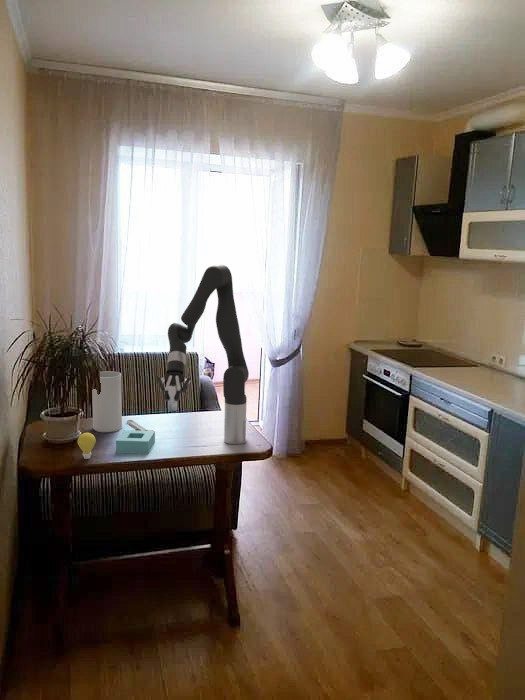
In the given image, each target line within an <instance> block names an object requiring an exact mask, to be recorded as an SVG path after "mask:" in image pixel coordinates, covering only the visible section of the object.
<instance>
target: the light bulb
mask: <svg viewBox="0 0 525 700" xmlns="http://www.w3.org/2000/svg"><path fill="white" fill-rule="evenodd" d="M77 438H78V439H77V445H78V446H79V448H80V450H81V451H82V456H83V459H85V460H87V459H91V456H92V450H93V449H94V447H95V444H96V443H97V442H96V441H97V440H96V437H95V435H94V434H92V433H91V432H84V433H82V434H80V435H79V436H78V437H77Z"/></svg>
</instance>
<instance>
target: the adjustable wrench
mask: <svg viewBox="0 0 525 700" xmlns="http://www.w3.org/2000/svg"><path fill="white" fill-rule="evenodd" d="M126 423H127V425H130V426H131V427H133V428H134V430H135V429H136V431H154V429H147V428H145V427H143V426H142V425H140V424H139V423H137V422H136V421H134V420H133V419H128V420H126Z"/></svg>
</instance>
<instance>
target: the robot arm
mask: <svg viewBox="0 0 525 700" xmlns="http://www.w3.org/2000/svg"><path fill="white" fill-rule="evenodd" d="M215 291H216V294H217V308H216V314H215V324H216V330H217V335H218V338H219V341H220V342H221V345H222V346H223V349H224V351H225V354H226V358H227V359H226V360H227V368H226V369H225V371H224V373H223V378H222V379H223V381H222V385H223V386H222V387H223V388H222V389H223V397H224V425H223V426H224V427H223V429H224V430H223V431H224V432H223V441H224V442H225V444H230V445H241V444H246V442H247V441H246V440H247V402H248V401H247V395H246V393H245V392H246V391H245V389H246V388H245V385H246V384H245V383H246V382H247V381H248V379H249V374H250V373H249V367H248V365H247V361H246V359H245V355H244V351H243V342H242V338H241V331H240V325H239V323H240V322H239V320H238V318H239V317H238V315H237V308H236V303H235V298H234V297H235V296H234V287H233V276H232V273H231V270H230V268H229V267H228V266H226V265H225V264H218V265H217V264H215V265H209V267H207V268H206V269H205V271H204V273H203V274H202V277H201V280H200V283H199V284H198V287H197V289H196V291H195V293H194V295H193V297H192V299H191V300H190V302H189V303H188V306H187V307H186V308H185V310H184V312H183V313H182V315H181V318H180V320H181V322H182V323H183V324H184V325H183V324H181V323H178V322H172V323H171V324H170V325H169V327H168V329H167V339H168V342H169V351H168V357H167V362H166V370H165V371H166V372H165V375H163V377H160V376H159V377H157V381H158V384H159V387H160V392H162V393H164V395H163V399H164V401H165V402H168V385H177V392H176V401H177V402H179V401H180V400H181V395H182V393H186V392H187V389H188V388H189V386H190V384H191V378H190V377H185V370H186V362H187V361H186V359H187V357H186V356H187V345H186V344H187V343H189V342H190V341H191V340H192V338H193V337H192V336H193V334H194V330H195V327H196V325H197V323H198V322H199V320H200V319H201V317H202V316H203V314H204V312H205V309H206V307H207V303H208V300H209V298H210V297H211V295H212V294H213V292H215ZM164 382H165V383H166V384H165V387H164V385H163V384H164ZM183 382H184V384H183V386H182V387H181V384H182V383H183Z"/></svg>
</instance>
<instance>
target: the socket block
mask: <svg viewBox="0 0 525 700" xmlns="http://www.w3.org/2000/svg"><path fill="white" fill-rule="evenodd" d="M155 443H156V431H155V430H153V431H138V430H135V429H134V430H127V429H126V430H125V429H124V430H122V432H121V433H120V434H119V435H118V437H117V438H116V439H115V453H123V454H124V453H125V454H150V452H151V450H152V448H153V446H154V444H155Z"/></svg>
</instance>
